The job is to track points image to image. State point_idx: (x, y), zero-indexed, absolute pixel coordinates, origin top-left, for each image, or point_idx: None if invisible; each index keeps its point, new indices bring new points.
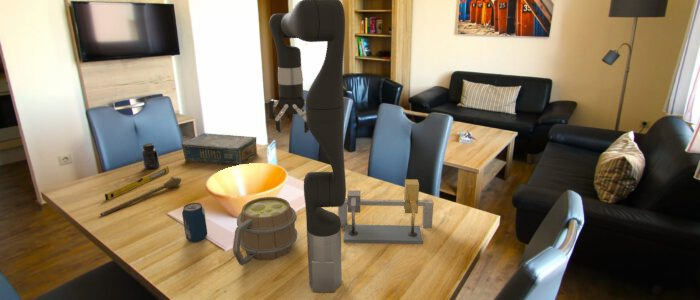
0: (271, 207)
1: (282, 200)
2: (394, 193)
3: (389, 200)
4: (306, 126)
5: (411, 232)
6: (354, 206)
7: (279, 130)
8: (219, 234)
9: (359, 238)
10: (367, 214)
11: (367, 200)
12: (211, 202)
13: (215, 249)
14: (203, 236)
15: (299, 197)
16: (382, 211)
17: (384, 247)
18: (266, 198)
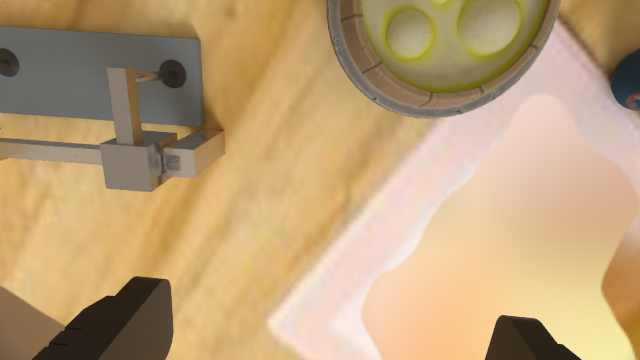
0: (430, 18)
1: (388, 71)
2: (91, 304)
3: (21, 152)
4: (75, 335)
5: (1, 60)
6: (112, 67)
7: (526, 329)
8: (569, 98)
9: (151, 43)
10: (151, 195)
11: (95, 155)
12: (603, 284)
13: (576, 9)
14: (626, 60)
15: (349, 298)
16: (112, 209)
17: (84, 9)
18: (457, 92)
